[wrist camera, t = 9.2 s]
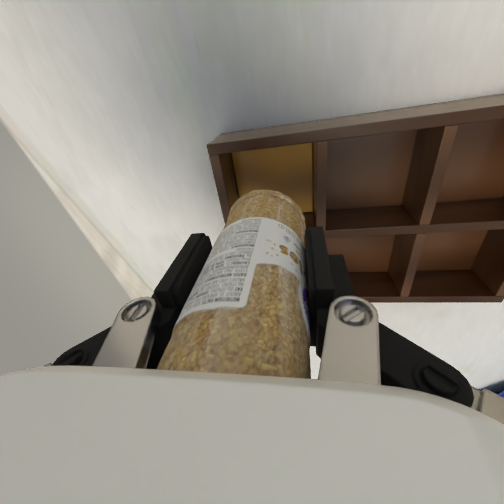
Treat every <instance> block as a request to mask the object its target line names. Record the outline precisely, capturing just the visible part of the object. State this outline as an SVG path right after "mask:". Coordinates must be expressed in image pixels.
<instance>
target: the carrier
mask: <svg viewBox="0 0 504 504" xmlns="http://www.w3.org/2000/svg"><path fill="white" fill-rule="evenodd" d="M207 149H208V153H209V155H210V156H209V157H210V161H211V166H212V170H213V174H214V178H215V183H216V187H217V191H218V196H219V200H220V204H221V209H222V213H223V217H224V222H225V225H226V222H227V218H228V215H229V212H230V209H231V207H232V206H233V205H234V203H235V202H236V201H237V200H238V199H239V198H241V197H242V196H243V195H245V194H248V193H249V192H251V191H254V190H272V191H278V192H281V193H282V194H284V195H287V196H289V197H290V198H291V199H292V200H293V201H294V202H295V203H296V204H297V205H298V206H299V207H300V209H301V211H302V213H303V215H304V218H305V225H306V230H310V227H315V226H323V231H324V236H325V241H326V247H327V252H328V255H339V254H342V255H343V256H344V259H345V263H346V267H347V270H348V274H349V277H350V281H351V284H352V288H353V291H354V295H355V296H357V297H361V298H363V299H365V300H367V301H369V302H502V301H503V299H504V94H499V95H492V96H485V97H478V98H471V99H464V100H457V101H450V102H443V103H435V104H428V105H421V106H414V107H407V108H400V109H393V110H386V111H379V112H372V113H365V114H358V115H350V116H343V117H336V118H329V119H322V120H315V121H308V122H301V123H294V124H287V125H280V126H273V127H265V128H258V129H251V130H244V131H237V132H230V133H223V134H221V135H219V136H218V137H216V138H215V139H214V140H213V141H211V142H210V143H209V144H207ZM304 249H305V235H304Z"/></svg>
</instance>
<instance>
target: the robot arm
mask: <svg viewBox="0 0 504 504" xmlns="http://www.w3.org/2000/svg"><path fill="white" fill-rule="evenodd" d="M211 250H212V245H211V242H210V238H209V236H206V235H205V234H204V233H197V234H191V236H190V237H189V239H188V240H187V242H186V243H185V245H184V246H183V248H182V249H181V251H180V252H179V254H178V255H177V257H176V258H175V260H174V261H173V263H172V264H171V266H170V267H169V269H168V270H167V272H166V273H165V275H164V276H163V278H162V279H161V281H160V282H159V284H158V286H157V287H156V289H155V290H154V294H153V295H152V297H140V298H136V299H134V300H132V301H130V302H129V303H127V304H126V305H125V306H124V307H123V308H121V310H120V311H119V313H118V314H117V316H116V319H115V321H114V323H113V325H112V326H111V327H109V328H108V329H106V330H104V331H102V332H100V333H98V334H96V335H95V336H93V337H91V338H89V339H87V340H85V341H84V342H82V343H80V344H78V345H76V346H74V347H72V348H71V349H69V350H68V351H66V352H64V353H63V354H62V355H61V356H60V357H58V358H57V360H56V361H55V362H54V363H53V364H51V363H49V364H47V365H45V366H43V367H34V368H29V369H23V370H18V371H13V372H9V373H6V374H3V375H0V504H504V397H502V396H500V395H498V394H496V393H494V392H491V391H489V390H487V389H485V388H484V389H483V391H480V390H478V389H476V388H474V387H472V386H470V384H469V382H468V381H467V379H466V378H465V377H464V376H463V375H462V374H461V373H460V372H459V371H458V370H456V369H455V368H454V367H452V366H451V365H449V364H448V363H446V362H444V361H443V360H441V359H439V358H438V357H436V356H434V355H433V354H431V353H429V352H428V351H426V350H424V349H423V348H421V347H419V346H418V345H416V344H414V343H413V342H411V341H409V340H408V339H406V338H404V337H403V336H401V335H399V334H398V333H396V332H394V331H393V330H391V329H389V328H388V327H386V326H384V325H383V324H381V323H379V322H378V313H377V310H376V308H375V307H374V306H373V305H372V304H371V303H370V302H369V301H367V300H365V299H363V298H361V297H357V296H355V295H354V291H353V288H352V284H351V281H350V277H349V274H348V270H347V267H346V263H345V259H344V256H343V255H342V254H339V255H328V252H327V247H326V241H325V236H324V231H323V226H315V227H310V230H305V253H306V268H307V287H308V308H309V323H310V338H311V343H310V346H316V355H318V356H319V357H320V358H321V363H320V369H319V375H318V379H305V378H290V377H274V376H258V375H243V374H226V373H209V372H192V371H175V370H157V367H158V365H159V362H160V360H161V358H162V356H163V354H164V351H165V349H166V347H167V345H168V343H169V341H170V339H171V336H172V331H173V328H174V326H175V324H176V322H177V320H178V318H179V315H180V313H181V311H182V309H183V307H184V305H185V303H186V301H187V299H188V297H189V295H190V293H191V291H192V289H193V287H194V285H195V283H196V281H197V279H198V277H199V275H200V273H201V271H202V269H203V267H204V265H205V263H206V261H207V258H208V256H209V254H210V252H211Z"/></svg>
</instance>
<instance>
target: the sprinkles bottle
mask: <svg viewBox="0 0 504 504" xmlns="http://www.w3.org/2000/svg"><path fill="white" fill-rule="evenodd" d="M305 230H306V225H305V218H304V215H303V213H302V211H301V209H300V207H299V206H298V205H297V204H296V203H295V202H294V201H293V200H292V199H291V198H290V197H289V196H287V195H284V194H282V193H281V192H278V191H272V190H254V191H251V192H249V193H248V194H245V195H243V196H242V197H241V198H239V199H238V200H237V201H236V202H235V203H234V205H233V206H232V207H231V209H230V212H229V215H228V218H227V222H226V225H225V227H224V229H223V231H222V232H221V234H220V235H219V236H218V238H217V240H216V242H215V244H214V246H213V248H212V250H211V252H210V254H209V256H208V258H207V261H206V263H205V265H204V267H203V269H202V271H201V273H200V275H199V277H198V279H197V281H196V283H195V285H194V287H193V289H192V291H191V293H190V295H189V297H188V299H187V301H186V303H185V305H184V307H183V309H182V311H181V313H180V315H179V318H178V320H177V322H176V324H175V326H174V328H173V331H172V336H171V339H170V341H169V343H168V345H167V347H166V349H165V351H164V354H163V356H162V358H161V360H160V362H159V365H158V367H157V370H175V371H192V372H209V373H226V374H243V375H258V376H274V377H290V378H305V379H311V370H310V355H309V348H310V343H311V338H310V323H309V308H308V287H307V268H306V253H305V249H304V235H305Z"/></svg>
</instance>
